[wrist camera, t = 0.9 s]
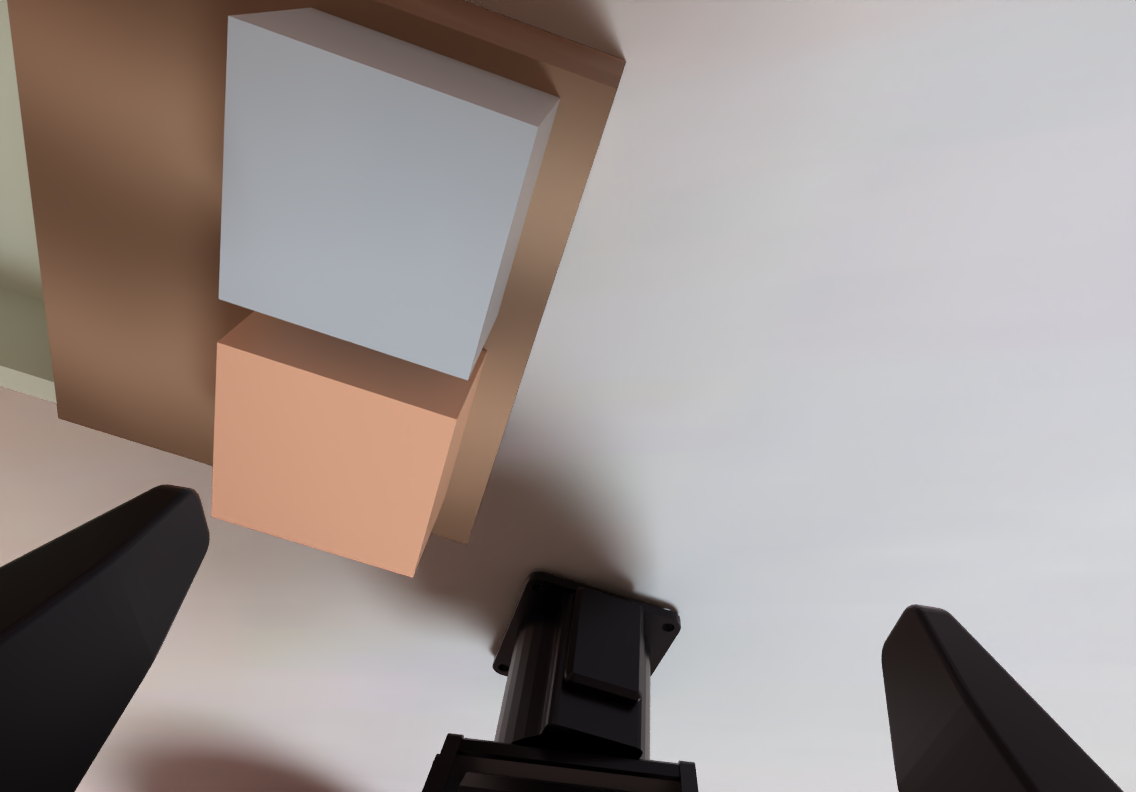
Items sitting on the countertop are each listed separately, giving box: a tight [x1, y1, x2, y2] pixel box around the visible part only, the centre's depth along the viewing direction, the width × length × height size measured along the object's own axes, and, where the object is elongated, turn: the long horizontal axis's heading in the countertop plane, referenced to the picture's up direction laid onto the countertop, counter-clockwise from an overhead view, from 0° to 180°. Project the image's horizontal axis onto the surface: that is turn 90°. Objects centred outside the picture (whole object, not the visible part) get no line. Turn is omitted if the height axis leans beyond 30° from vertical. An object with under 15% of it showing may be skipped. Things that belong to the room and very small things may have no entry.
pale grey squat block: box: [219, 8, 560, 380], centre depth 13 cm, size 5×5×3 cm
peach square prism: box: [211, 311, 487, 578], centre depth 16 cm, size 5×5×3 cm
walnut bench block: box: [7, 0, 626, 544], centre depth 18 cm, size 13×12×5 cm
